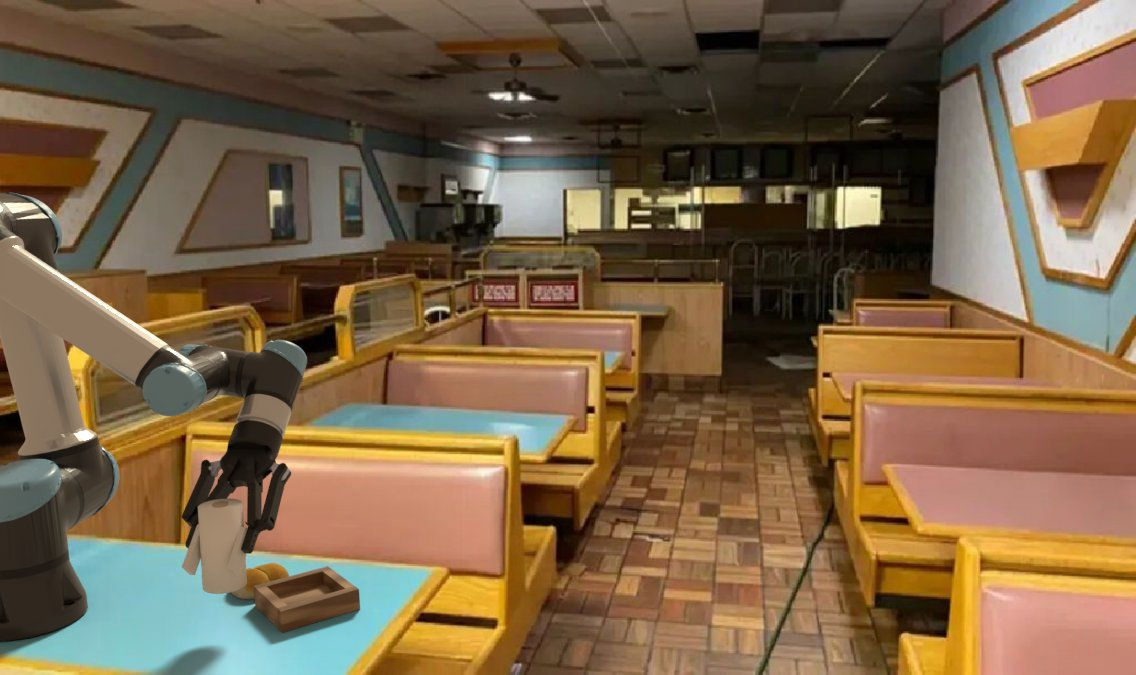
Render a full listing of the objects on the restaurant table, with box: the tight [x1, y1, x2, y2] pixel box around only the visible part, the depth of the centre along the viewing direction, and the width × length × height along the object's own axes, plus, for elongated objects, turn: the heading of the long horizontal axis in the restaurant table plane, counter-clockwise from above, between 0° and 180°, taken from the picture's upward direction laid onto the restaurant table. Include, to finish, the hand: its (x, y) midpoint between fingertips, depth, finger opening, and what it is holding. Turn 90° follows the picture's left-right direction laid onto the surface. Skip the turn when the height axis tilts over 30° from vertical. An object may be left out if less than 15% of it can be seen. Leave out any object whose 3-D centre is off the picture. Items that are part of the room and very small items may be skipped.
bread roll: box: [230, 562, 290, 600], centre depth 150 cm, size 8×9×4 cm
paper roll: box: [198, 498, 247, 595], centre depth 133 cm, size 6×6×12 cm
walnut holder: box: [254, 565, 361, 633], centre depth 142 cm, size 12×12×3 cm
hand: (210, 572), depth 130 cm, fingers closed on paper roll, 6 cm apart
